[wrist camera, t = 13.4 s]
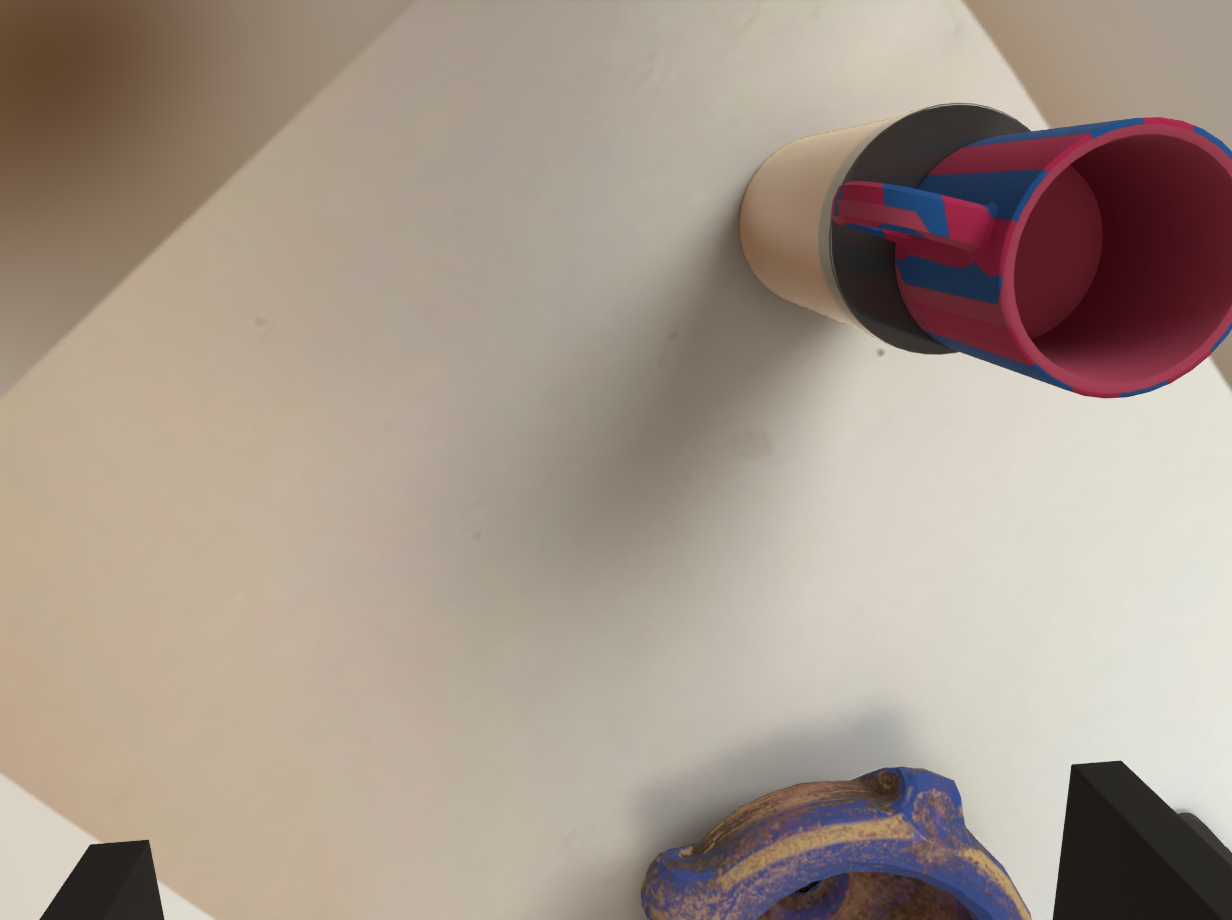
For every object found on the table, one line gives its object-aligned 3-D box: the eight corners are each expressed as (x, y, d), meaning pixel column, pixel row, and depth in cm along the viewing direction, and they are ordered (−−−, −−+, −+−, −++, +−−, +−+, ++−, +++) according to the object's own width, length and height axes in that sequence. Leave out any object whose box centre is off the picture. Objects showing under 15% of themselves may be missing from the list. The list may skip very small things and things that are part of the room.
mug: (1042, 382, 30) (1183, 432, 24) (764, 280, 29) (834, 305, 22) (1136, 180, 29) (1313, 176, 22) (848, 61, 27) (949, 18, 21)
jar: (737, 134, 40) (833, 105, 28) (908, 130, 41) (1079, 99, 28) (736, 311, 42) (825, 360, 30) (898, 304, 43) (1053, 350, 30)
